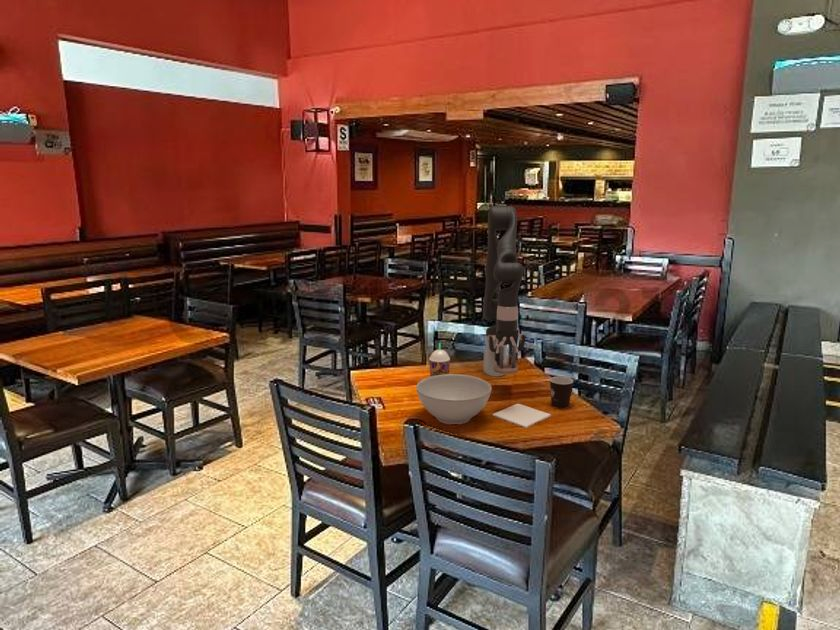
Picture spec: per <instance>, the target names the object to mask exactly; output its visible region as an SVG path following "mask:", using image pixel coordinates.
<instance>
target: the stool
mask: <svg viewBox="0 0 840 630" xmlns="http://www.w3.org/2000/svg"><path fill="white" fill-rule="evenodd" d="M516 346H517V345H516ZM516 346H513V348H512V346H511V345H508V352H507V354H508V355H507V356H508V362H507V363H503V360H504V356H503V353H504V347H500V351H499V363H497V364H494V369H493V370H494V371H495V372H497V373H502V374H505V375H511V374H512V375H513V374H516V373H517V372H519V366H518V364H516V363H517V361H516Z"/></svg>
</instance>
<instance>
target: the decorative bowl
mask: <svg viewBox="0 0 840 630" xmlns="http://www.w3.org/2000/svg"><path fill="white" fill-rule="evenodd" d="M415 388H416V392H417V393H416V394H417V396H418V399H419V401H420V402H421V404H422V406H423V407H424V409H425V410H426V411H427V412H428V413H429V414H430V415H432V416H433V417H435V418H436V420H437V421H438V420H439V421H438V422H440V423H442V422H443V423H442V424H445V423H446V424H445V425H451V424H458V425H463V423H464V424H466V423H468V422H470V420H471V419H472V418H473V417H475V416H476V415H478V414H479V413H480V412H482V410H483V409H484V407H485V406H486V405H487V403H488V401H489V400H490V399H489V398H490V396H491V394H492V390H493V389H492V385H491V383H490V382H488V381H487V380H485V379H483V378H480V377H477V376H474V375H468V374H460V373H459V374H458V373H449V374H444V375H436V376H428V377H425V378H423V379H422V380H421V379H420V381H419V382H418V383H417V384H416V386H415Z"/></svg>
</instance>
